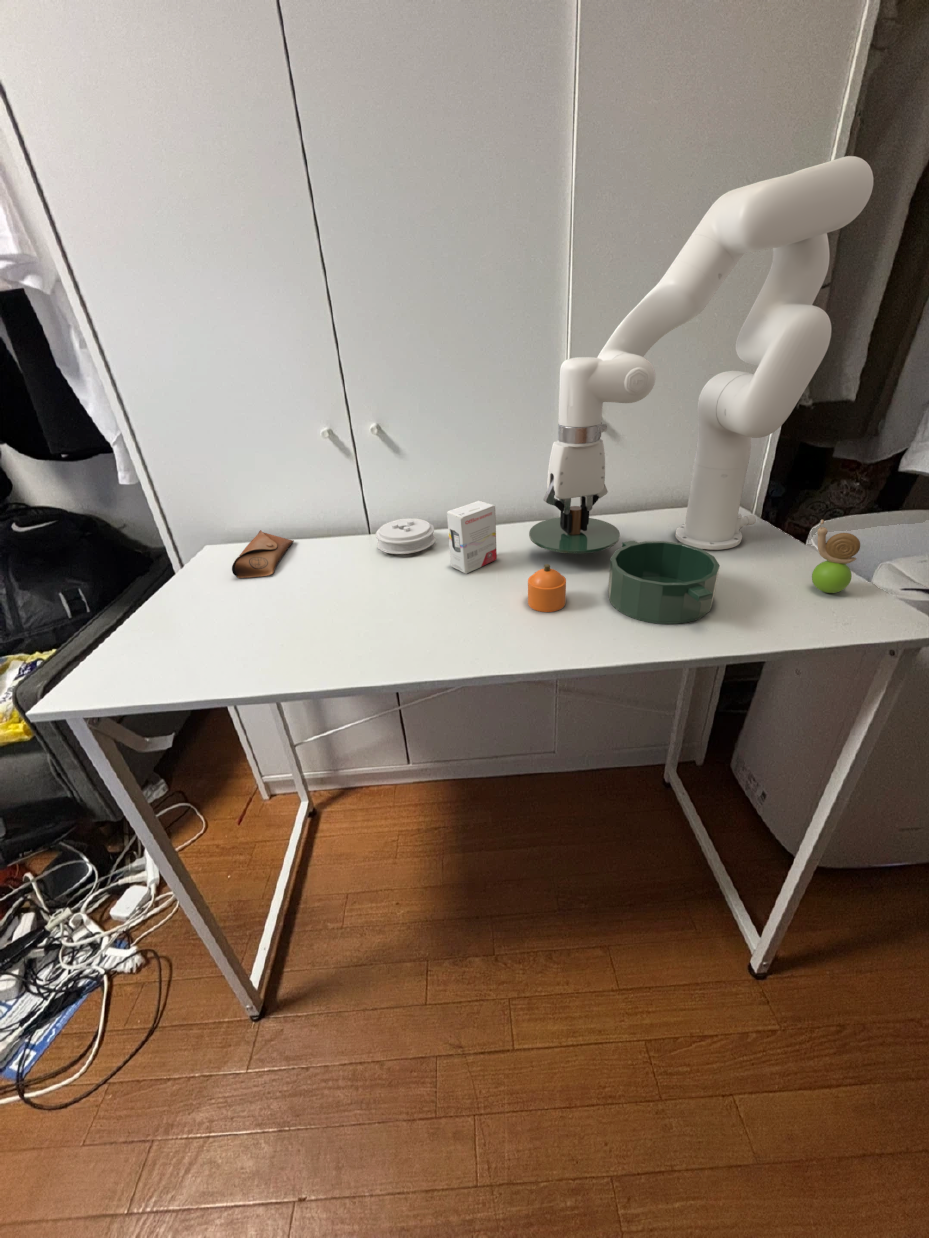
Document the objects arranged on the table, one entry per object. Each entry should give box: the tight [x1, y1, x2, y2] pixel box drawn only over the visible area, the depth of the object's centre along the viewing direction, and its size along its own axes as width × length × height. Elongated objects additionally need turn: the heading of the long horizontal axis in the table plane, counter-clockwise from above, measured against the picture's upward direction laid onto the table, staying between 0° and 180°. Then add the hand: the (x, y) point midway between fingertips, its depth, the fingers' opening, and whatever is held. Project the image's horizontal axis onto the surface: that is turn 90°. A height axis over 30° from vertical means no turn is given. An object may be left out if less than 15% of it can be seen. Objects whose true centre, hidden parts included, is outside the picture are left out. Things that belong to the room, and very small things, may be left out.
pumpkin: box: [527, 563, 567, 613], centre depth 92 cm, size 6×6×7 cm
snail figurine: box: [811, 519, 861, 594], centre depth 88 cm, size 5×6×12 cm
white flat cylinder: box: [375, 517, 436, 555], centre depth 118 cm, size 13×13×5 cm
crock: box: [607, 539, 721, 625], centre depth 91 cm, size 17×22×7 cm
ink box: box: [446, 500, 498, 575], centre depth 106 cm, size 9×5×12 cm, turn 129°
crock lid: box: [528, 505, 621, 554], centre depth 106 cm, size 18×18×6 cm
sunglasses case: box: [231, 529, 295, 579], centre depth 118 cm, size 18×7×7 cm
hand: (574, 529), depth 107 cm, fingers closed on crock lid, 2 cm apart
